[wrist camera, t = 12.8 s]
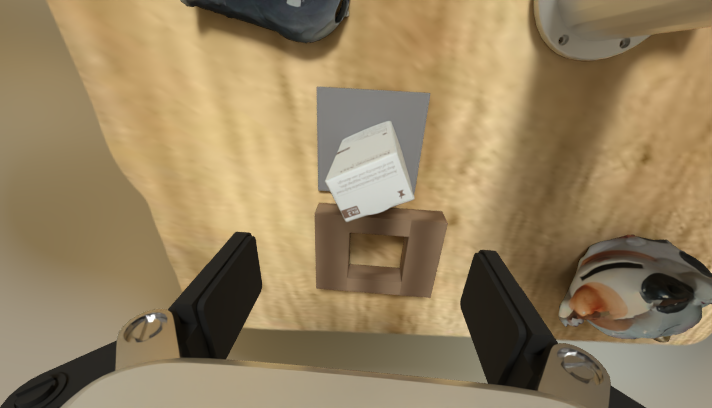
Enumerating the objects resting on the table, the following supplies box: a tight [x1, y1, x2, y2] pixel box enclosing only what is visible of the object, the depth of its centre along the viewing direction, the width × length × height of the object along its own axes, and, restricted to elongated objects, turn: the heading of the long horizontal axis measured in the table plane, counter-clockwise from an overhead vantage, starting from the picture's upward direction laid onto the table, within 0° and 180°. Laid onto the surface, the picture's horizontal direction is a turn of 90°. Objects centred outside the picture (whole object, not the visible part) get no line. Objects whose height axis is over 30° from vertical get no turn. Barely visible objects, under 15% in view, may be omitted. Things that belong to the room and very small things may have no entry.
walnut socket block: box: [315, 203, 448, 298], centre depth 36 cm, size 16×12×3 cm
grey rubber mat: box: [317, 87, 430, 194], centre depth 31 cm, size 12×12×1 cm
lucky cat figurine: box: [559, 235, 712, 342], centre depth 32 cm, size 15×12×14 cm
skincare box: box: [325, 121, 415, 222], centre depth 26 cm, size 6×4×12 cm
